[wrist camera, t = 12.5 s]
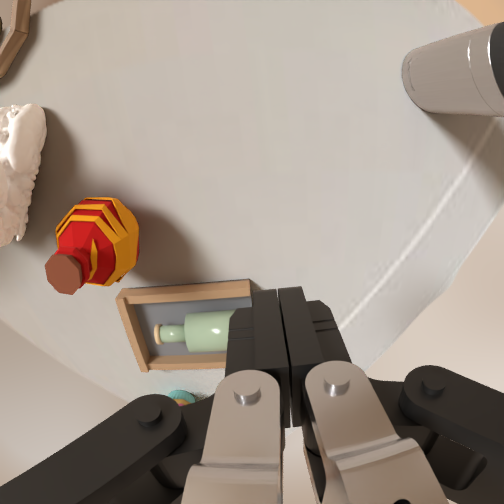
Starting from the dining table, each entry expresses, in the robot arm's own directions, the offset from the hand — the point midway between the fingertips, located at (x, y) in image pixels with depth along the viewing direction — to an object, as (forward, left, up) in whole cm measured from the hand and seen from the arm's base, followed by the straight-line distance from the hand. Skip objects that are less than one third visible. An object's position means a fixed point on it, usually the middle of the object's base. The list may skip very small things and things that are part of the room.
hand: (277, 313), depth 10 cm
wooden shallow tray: (+11, +20, -29) cm, 37 cm away
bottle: (+1, +19, -26) cm, 32 cm away
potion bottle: (+18, +4, -29) cm, 35 cm away
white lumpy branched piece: (+34, -6, -29) cm, 45 cm away
